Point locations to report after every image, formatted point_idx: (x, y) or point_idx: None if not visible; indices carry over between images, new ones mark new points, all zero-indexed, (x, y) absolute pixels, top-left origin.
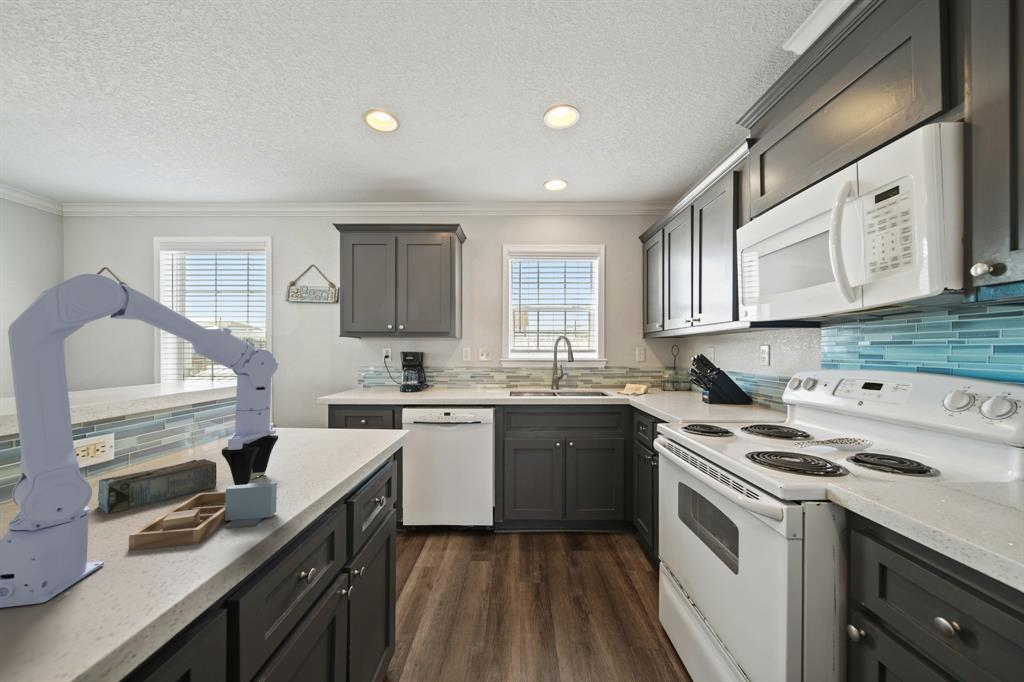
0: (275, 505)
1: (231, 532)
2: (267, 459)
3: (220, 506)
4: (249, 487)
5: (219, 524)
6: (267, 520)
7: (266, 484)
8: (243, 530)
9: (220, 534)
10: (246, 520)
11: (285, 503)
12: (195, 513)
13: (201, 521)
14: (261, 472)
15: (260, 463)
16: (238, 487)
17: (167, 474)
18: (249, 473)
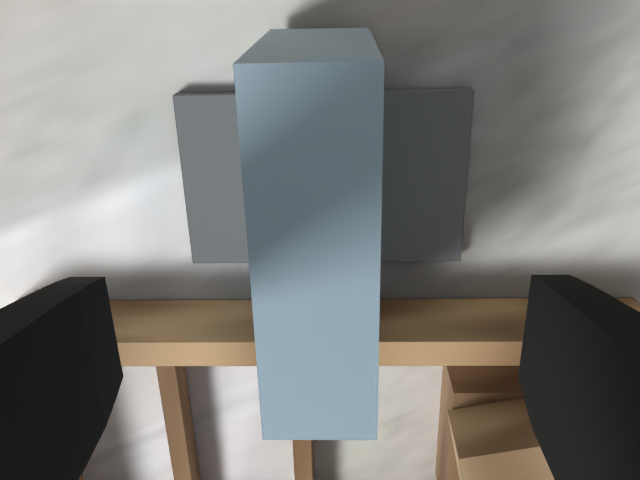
0: (281, 34)
1: (528, 195)
2: (14, 337)
3: (175, 410)
4: (379, 274)
5: (418, 304)
6: (386, 42)
7: (313, 145)
8: (520, 135)
9: (538, 243)
10: (394, 176)
11: (62, 38)
12: (539, 447)
13: (471, 391)
14: (107, 304)
15: (59, 384)
16: (355, 365)
17: None
18: (638, 318)
